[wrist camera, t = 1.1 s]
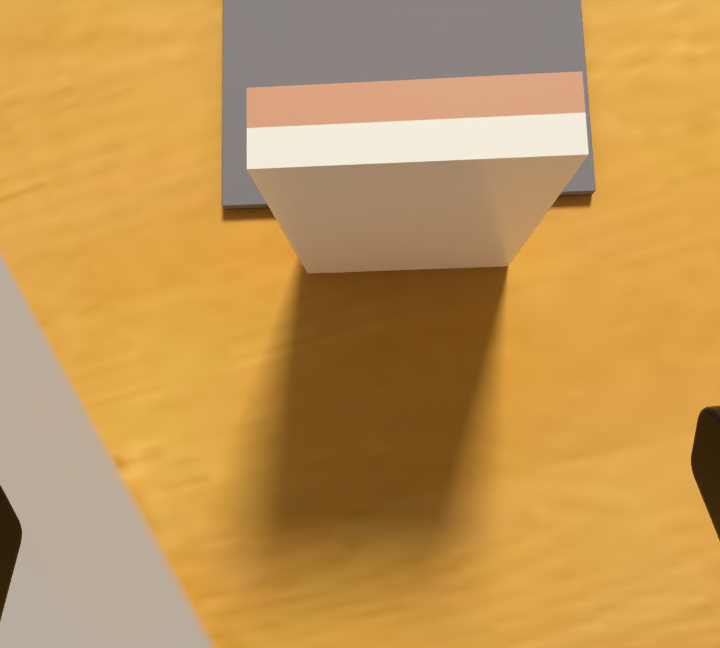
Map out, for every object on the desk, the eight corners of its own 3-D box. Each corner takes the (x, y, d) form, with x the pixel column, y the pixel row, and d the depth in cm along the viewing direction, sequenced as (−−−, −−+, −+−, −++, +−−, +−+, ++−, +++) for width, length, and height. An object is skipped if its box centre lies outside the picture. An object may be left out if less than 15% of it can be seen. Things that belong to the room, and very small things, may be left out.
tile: (508, 266, 24) (588, 154, 14) (307, 273, 24) (246, 169, 14) (505, 216, 24) (582, 71, 14) (306, 224, 24) (246, 87, 14)
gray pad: (592, 194, 24) (595, 190, 24) (224, 208, 24) (222, 205, 24) (568, -114, 26) (571, -122, 25) (226, -93, 26) (223, -101, 26)
